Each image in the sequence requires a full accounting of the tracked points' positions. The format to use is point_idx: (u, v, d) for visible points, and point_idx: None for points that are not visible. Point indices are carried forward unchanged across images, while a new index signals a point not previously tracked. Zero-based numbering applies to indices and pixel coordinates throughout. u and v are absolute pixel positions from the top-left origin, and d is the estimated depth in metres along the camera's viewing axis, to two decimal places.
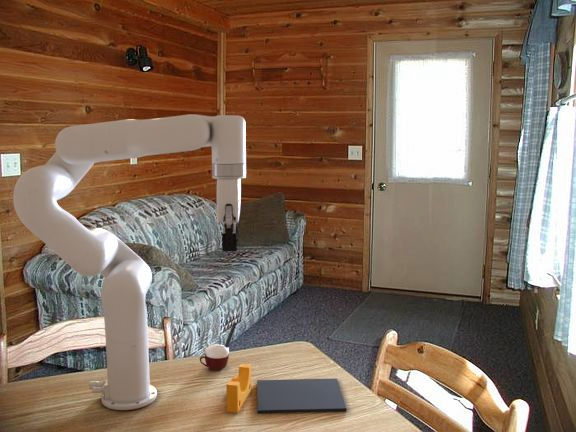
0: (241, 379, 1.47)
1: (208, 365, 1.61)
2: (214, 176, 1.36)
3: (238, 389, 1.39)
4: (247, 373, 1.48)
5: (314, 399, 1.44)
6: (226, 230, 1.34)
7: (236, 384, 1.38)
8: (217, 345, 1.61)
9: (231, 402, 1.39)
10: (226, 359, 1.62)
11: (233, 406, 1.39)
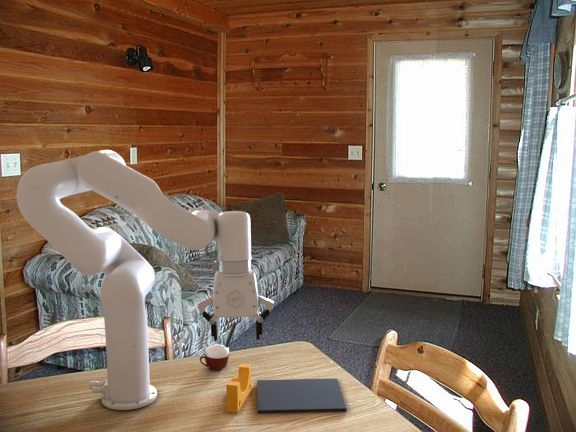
0: (241, 379, 1.47)
1: (208, 365, 1.61)
2: (243, 273, 1.37)
3: (238, 389, 1.39)
4: (247, 373, 1.48)
5: (314, 399, 1.44)
6: None
7: (236, 384, 1.38)
8: (217, 345, 1.61)
9: (231, 402, 1.39)
10: (226, 359, 1.62)
11: (233, 406, 1.39)
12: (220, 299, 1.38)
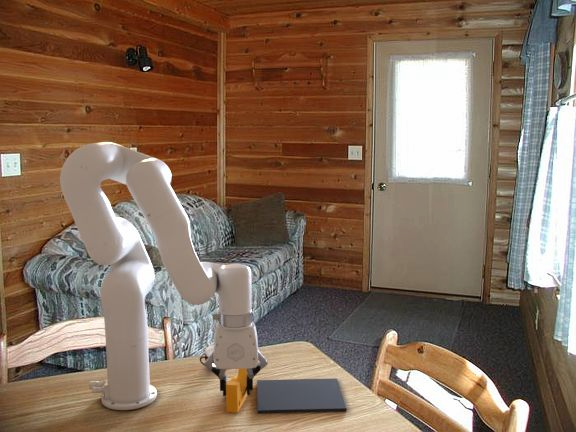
0: (240, 379, 1.47)
1: None
2: (244, 326, 1.39)
3: (238, 389, 1.39)
4: (247, 373, 1.48)
5: (314, 399, 1.44)
6: None
7: (236, 384, 1.38)
8: None
9: (231, 402, 1.39)
10: None
11: (233, 406, 1.39)
12: (220, 351, 1.40)
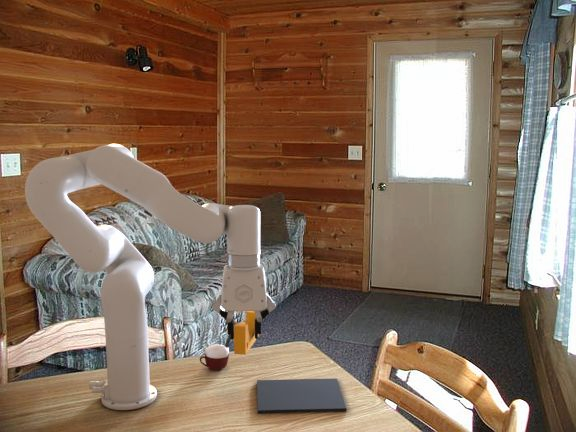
0: (248, 324, 1.45)
1: (208, 365, 1.61)
2: (252, 267, 1.37)
3: (246, 331, 1.37)
4: (254, 318, 1.46)
5: (314, 399, 1.44)
6: None
7: (244, 325, 1.36)
8: (217, 345, 1.61)
9: (239, 344, 1.37)
10: (226, 359, 1.62)
11: (241, 348, 1.37)
12: (228, 292, 1.38)
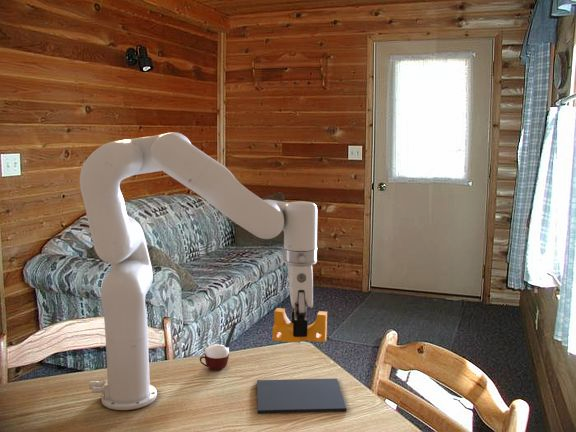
0: (287, 322, 1.45)
1: (208, 365, 1.61)
2: None
3: None
4: (285, 314, 1.46)
5: (314, 399, 1.44)
6: None
7: (324, 312, 1.44)
8: (217, 345, 1.61)
9: (325, 330, 1.43)
10: (226, 359, 1.62)
11: (326, 333, 1.44)
12: None
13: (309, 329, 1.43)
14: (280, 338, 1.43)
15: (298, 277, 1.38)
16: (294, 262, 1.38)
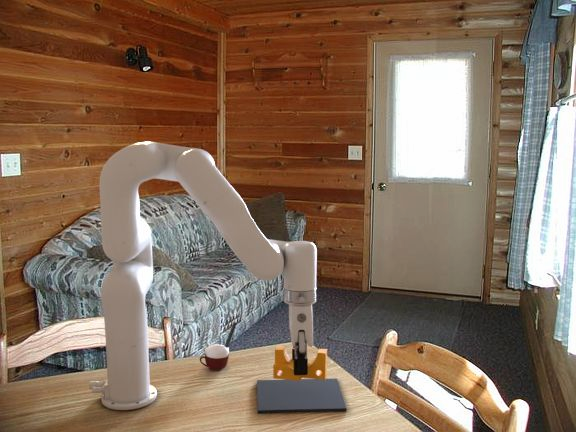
0: (288, 360, 1.46)
1: (208, 365, 1.61)
2: None
3: None
4: (285, 352, 1.47)
5: (314, 399, 1.44)
6: None
7: (324, 349, 1.45)
8: (217, 345, 1.61)
9: (326, 368, 1.45)
10: (226, 359, 1.62)
11: (326, 371, 1.46)
12: None
13: (309, 367, 1.45)
14: (281, 376, 1.44)
15: (298, 317, 1.40)
16: (294, 302, 1.40)
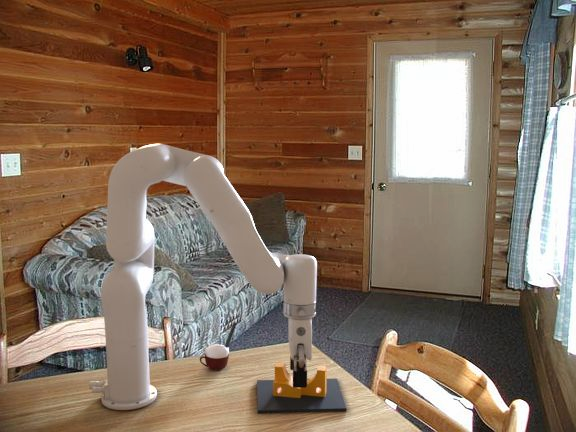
0: (288, 377, 1.47)
1: (208, 365, 1.61)
2: None
3: None
4: (285, 369, 1.48)
5: (314, 399, 1.44)
6: None
7: (324, 366, 1.46)
8: (217, 345, 1.61)
9: (325, 385, 1.46)
10: (226, 359, 1.62)
11: (325, 388, 1.46)
12: None
13: (309, 384, 1.45)
14: (281, 393, 1.45)
15: (297, 330, 1.40)
16: (294, 316, 1.40)
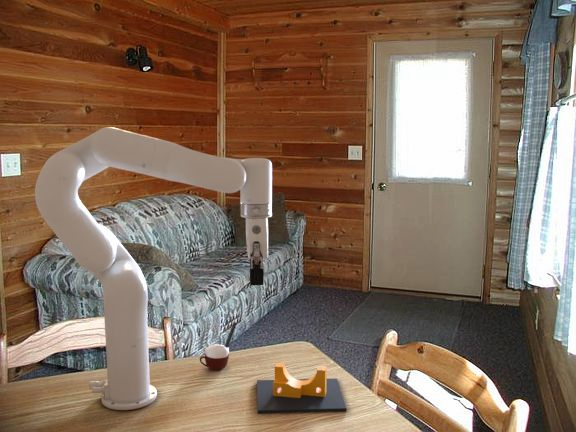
0: (288, 377, 1.47)
1: (208, 365, 1.61)
2: None
3: None
4: (285, 369, 1.48)
5: (314, 399, 1.44)
6: None
7: (324, 366, 1.46)
8: (217, 345, 1.61)
9: (325, 385, 1.46)
10: (226, 359, 1.62)
11: (325, 388, 1.46)
12: None
13: (309, 384, 1.45)
14: (281, 393, 1.45)
15: (253, 229, 1.45)
16: (249, 215, 1.45)
